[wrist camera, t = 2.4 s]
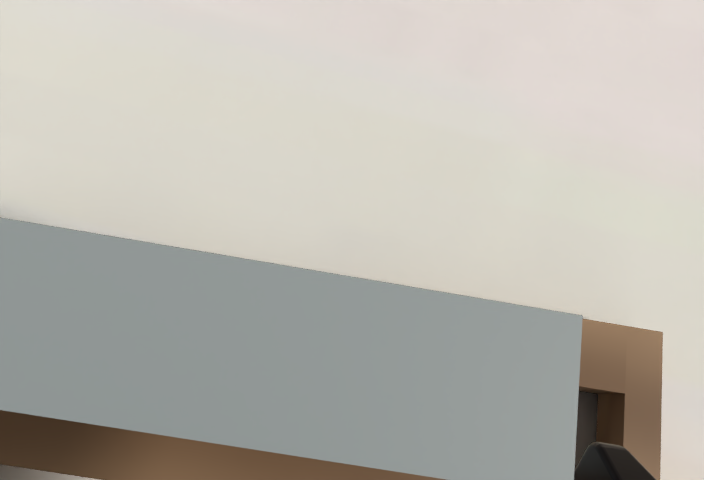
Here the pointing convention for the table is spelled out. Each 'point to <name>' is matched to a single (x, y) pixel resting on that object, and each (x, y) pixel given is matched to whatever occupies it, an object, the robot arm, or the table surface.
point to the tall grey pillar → (284, 358)
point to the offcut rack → (325, 476)
